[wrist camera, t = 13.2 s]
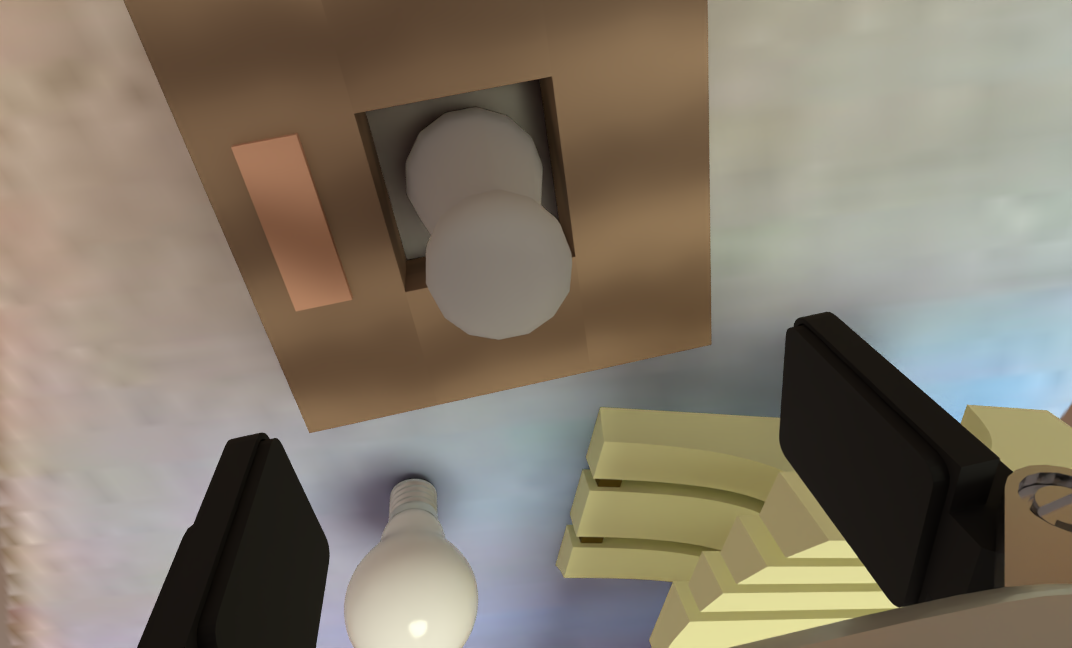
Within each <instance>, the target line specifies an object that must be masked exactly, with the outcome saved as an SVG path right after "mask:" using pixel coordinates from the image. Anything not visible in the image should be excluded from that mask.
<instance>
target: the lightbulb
mask: <svg viewBox="0 0 1072 648" xmlns="http://www.w3.org/2000/svg"><path fill="white" fill-rule="evenodd" d="M389 507H390V509H389V522H388V524H387V525H386V527H385V529H384V531H383V534H382V537H381V540H380V542H379V543H378V544H377V545H376V546H375V547H374V548H373V549H372V550H371V551H370V552H369V553H368V554H367V555H366V556H365V557H364V558H363V559H362V561H361V562H360V563H359V565H358V566H357V568H356V569H355V571H354V573H353V575H352V577H351V579H350V582H349V584H348V587H347V591H346V595H345V602H344V619H345V625H346V630H347V633H348V636H349V639H350V641H351V643H352V645H353V647H354V648H462V647H463V646H464V644H465V643H466V641H467V639H468V638H469V636H470V634H471V632H472V629H473V626H474V623H475V620H476V616H477V610H478V589H477V583H476V579H475V576H474V573H473V571H472V568H471V566H470V565H469V563H468V561H467V560H466V558H465V557H464V556H463V554H462V553H461V552H460V551H459V550H458V549H457V548H456V547H455V546H454V545H453V544H452V543H451V542H449V541H448V540H447V539H446V538H445V534H444V531H443V528H442V526H441V524H440V522H439V521H438V516H437V492H436V489H435V488H434V486H433V485H432V484H431V483H429V482H427V481H425V480H421V479H408V480H405V481H402V482H400V483H398V484H397V485H396V486H395V487H394V488H393V489H392V491H391V494H390V505H389Z"/></svg>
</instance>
